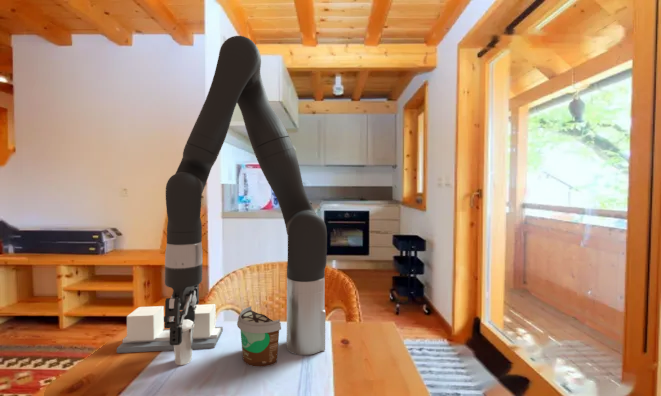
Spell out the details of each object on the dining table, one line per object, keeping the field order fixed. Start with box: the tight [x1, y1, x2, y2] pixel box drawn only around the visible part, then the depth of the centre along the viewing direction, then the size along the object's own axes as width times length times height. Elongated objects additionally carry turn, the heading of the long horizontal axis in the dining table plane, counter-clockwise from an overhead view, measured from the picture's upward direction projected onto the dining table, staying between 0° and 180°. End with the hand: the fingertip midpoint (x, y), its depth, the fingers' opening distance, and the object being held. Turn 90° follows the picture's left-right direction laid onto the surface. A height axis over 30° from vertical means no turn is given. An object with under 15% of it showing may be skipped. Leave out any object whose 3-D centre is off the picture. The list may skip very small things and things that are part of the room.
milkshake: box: [173, 318, 196, 366], centre depth 69 cm, size 4×5×10 cm
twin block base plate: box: [116, 303, 224, 354], centre depth 78 cm, size 22×9×8 cm, turn 97°
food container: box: [236, 305, 282, 368], centre depth 70 cm, size 12×6×10 cm, turn 47°
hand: (183, 334), depth 69 cm, fingers open, 8 cm apart
